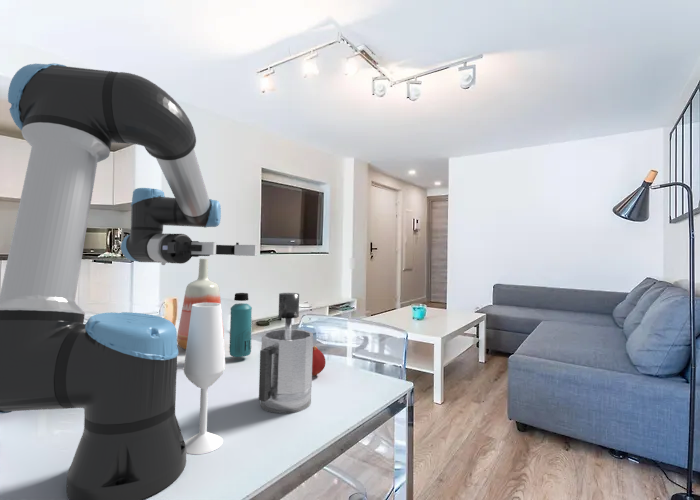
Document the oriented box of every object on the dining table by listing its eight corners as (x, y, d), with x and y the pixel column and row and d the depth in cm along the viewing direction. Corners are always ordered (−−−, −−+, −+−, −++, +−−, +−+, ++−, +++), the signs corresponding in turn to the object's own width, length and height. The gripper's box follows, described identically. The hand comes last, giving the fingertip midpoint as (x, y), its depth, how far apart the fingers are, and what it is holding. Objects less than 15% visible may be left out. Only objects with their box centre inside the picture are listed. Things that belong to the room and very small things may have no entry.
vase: (213, 340, 133) (215, 258, 133) (231, 349, 122) (233, 259, 122) (170, 346, 123) (173, 257, 123) (185, 356, 112) (188, 259, 112)
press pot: (284, 424, 71) (286, 347, 71) (239, 412, 76) (241, 339, 76) (319, 398, 85) (321, 332, 84) (279, 389, 89) (281, 327, 89)
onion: (307, 371, 103) (308, 342, 103) (327, 373, 102) (328, 344, 102) (300, 378, 97) (301, 347, 97) (321, 380, 96) (322, 349, 96)
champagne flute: (181, 437, 65) (185, 302, 65) (221, 431, 68) (225, 301, 68) (181, 457, 59) (185, 308, 59) (225, 449, 62) (229, 307, 62)
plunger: (292, 391, 76) (294, 297, 76) (260, 384, 80) (263, 294, 80) (311, 379, 84) (314, 293, 84) (281, 373, 87) (284, 290, 87)
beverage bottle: (244, 362, 108) (246, 294, 108) (224, 360, 110) (226, 293, 110) (254, 356, 115) (256, 292, 115) (235, 354, 116) (237, 291, 116)
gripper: (208, 263, 105) (269, 265, 97) (123, 263, 83) (192, 266, 74) (209, 236, 106) (270, 236, 97) (125, 229, 83) (194, 228, 74)
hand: (237, 249), depth 85 cm, fingers open, 13 cm apart
